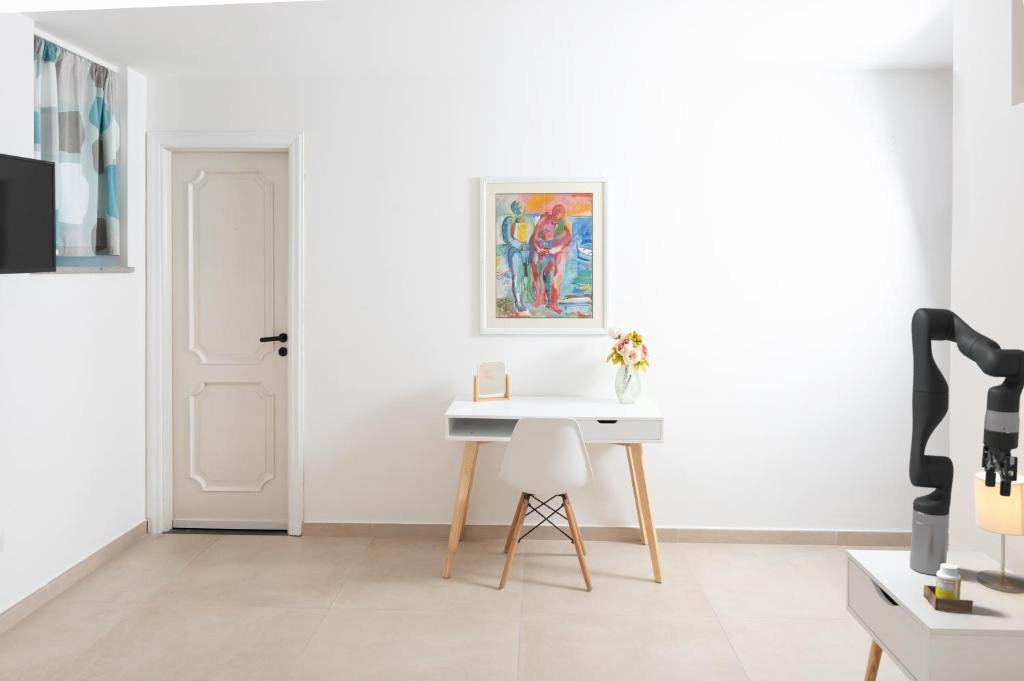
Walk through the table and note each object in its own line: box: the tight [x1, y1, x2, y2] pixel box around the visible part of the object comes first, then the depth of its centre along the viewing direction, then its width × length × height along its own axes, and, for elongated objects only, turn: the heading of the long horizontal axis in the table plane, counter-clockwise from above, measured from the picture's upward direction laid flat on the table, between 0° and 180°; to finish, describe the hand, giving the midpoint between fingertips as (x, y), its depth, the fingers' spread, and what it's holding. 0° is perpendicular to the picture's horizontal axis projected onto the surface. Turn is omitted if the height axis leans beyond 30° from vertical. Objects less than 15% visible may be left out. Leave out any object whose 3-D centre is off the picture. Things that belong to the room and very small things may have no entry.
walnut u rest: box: [923, 584, 974, 614], centre depth 202 cm, size 9×9×3 cm
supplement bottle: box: [935, 562, 962, 600], centre depth 202 cm, size 6×6×10 cm
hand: (997, 491), depth 199 cm, fingers open, 8 cm apart
